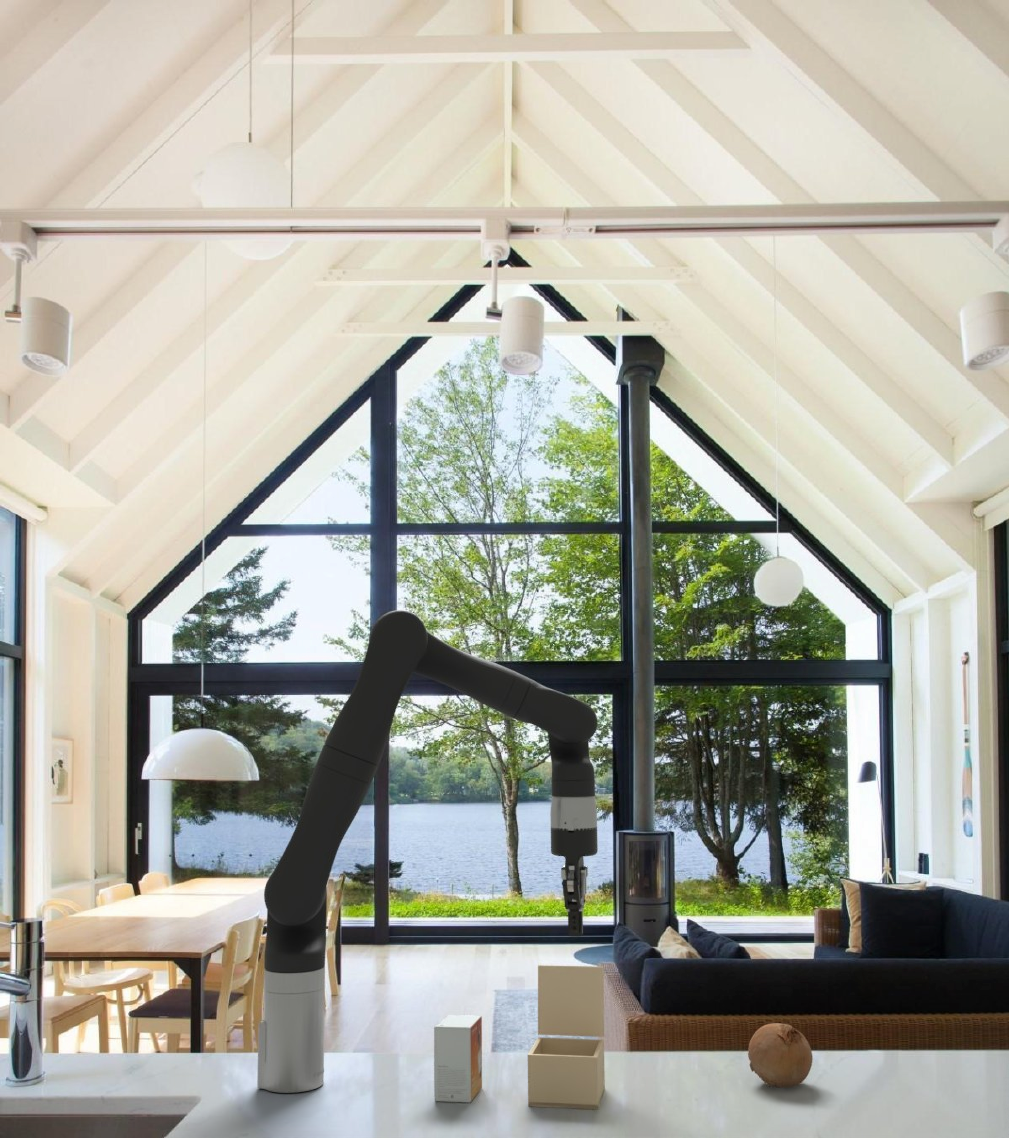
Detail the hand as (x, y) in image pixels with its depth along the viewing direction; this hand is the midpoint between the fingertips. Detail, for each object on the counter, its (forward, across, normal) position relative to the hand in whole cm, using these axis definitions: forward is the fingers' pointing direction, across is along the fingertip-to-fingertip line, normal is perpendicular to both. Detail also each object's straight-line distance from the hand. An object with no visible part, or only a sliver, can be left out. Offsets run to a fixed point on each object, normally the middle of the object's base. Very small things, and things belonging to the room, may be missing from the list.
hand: (575, 935), depth 190 cm
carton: (+21, +14, 0) cm, 25 cm away
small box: (+21, +15, -16) cm, 30 cm away
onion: (+21, +3, +31) cm, 38 cm away
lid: (+8, +8, 0) cm, 12 cm away
